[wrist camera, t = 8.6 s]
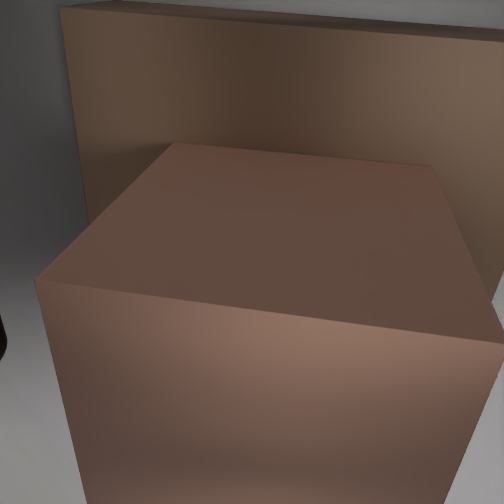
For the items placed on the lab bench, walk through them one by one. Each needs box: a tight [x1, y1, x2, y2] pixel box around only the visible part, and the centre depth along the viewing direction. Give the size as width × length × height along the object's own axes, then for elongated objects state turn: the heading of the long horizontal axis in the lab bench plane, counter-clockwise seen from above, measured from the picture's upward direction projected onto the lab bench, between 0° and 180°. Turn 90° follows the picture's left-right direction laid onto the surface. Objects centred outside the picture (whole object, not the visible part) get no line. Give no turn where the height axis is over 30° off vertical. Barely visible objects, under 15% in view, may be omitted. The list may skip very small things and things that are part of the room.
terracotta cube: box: [34, 142, 504, 504], centre depth 8 cm, size 5×5×5 cm
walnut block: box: [59, 0, 504, 301], centre depth 12 cm, size 9×9×3 cm
